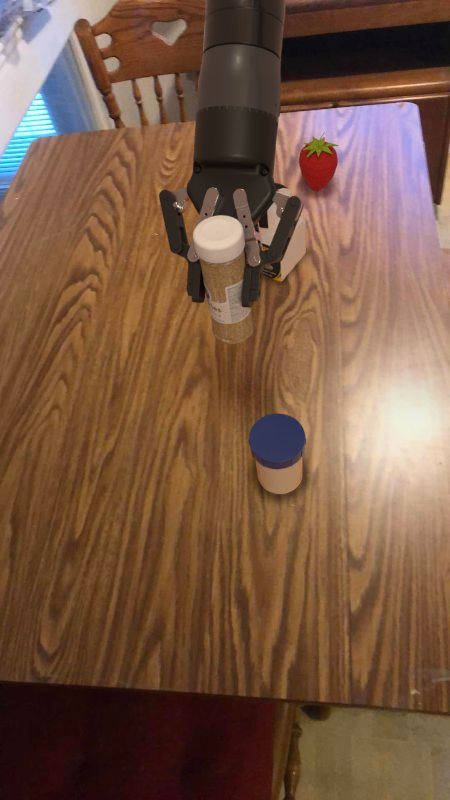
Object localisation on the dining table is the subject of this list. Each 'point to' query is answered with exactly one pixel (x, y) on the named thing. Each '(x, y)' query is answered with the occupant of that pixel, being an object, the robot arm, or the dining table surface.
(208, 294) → the sprinkles bottle
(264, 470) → the jar
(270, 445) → the jar lid
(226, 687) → the dining table surface
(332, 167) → the strawberry
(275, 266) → the medicine bottle
